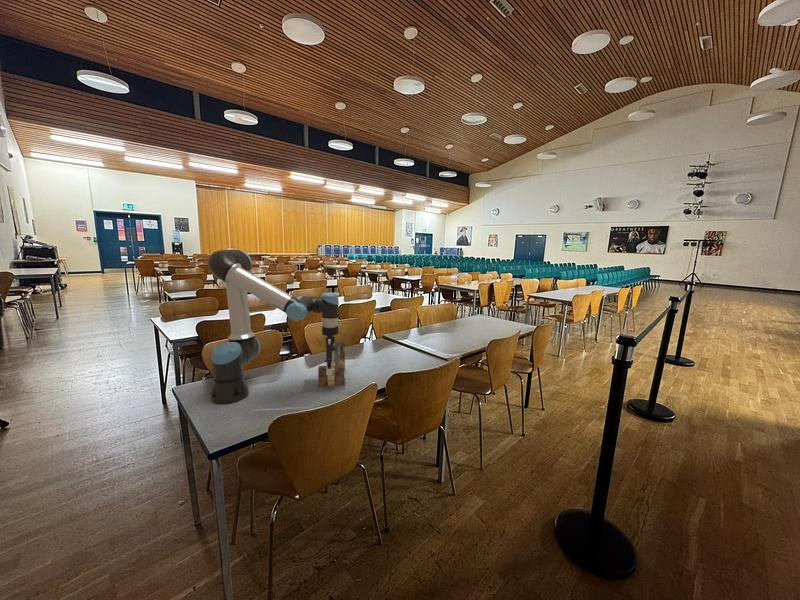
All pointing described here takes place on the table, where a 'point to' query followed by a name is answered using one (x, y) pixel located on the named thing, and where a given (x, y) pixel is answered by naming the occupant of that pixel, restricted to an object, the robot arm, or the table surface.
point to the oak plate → (332, 378)
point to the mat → (314, 386)
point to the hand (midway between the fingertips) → (330, 369)
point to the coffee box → (339, 354)
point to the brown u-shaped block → (338, 376)
